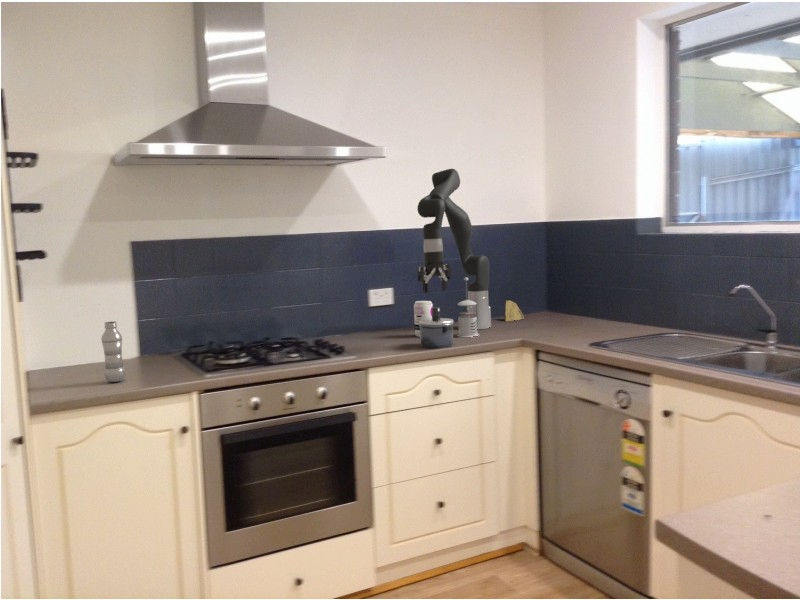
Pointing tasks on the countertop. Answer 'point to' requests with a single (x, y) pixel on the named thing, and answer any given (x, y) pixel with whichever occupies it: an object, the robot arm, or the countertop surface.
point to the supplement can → (421, 313)
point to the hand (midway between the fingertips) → (435, 291)
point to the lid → (436, 319)
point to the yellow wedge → (512, 311)
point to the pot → (436, 335)
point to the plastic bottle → (113, 353)
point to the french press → (467, 319)
